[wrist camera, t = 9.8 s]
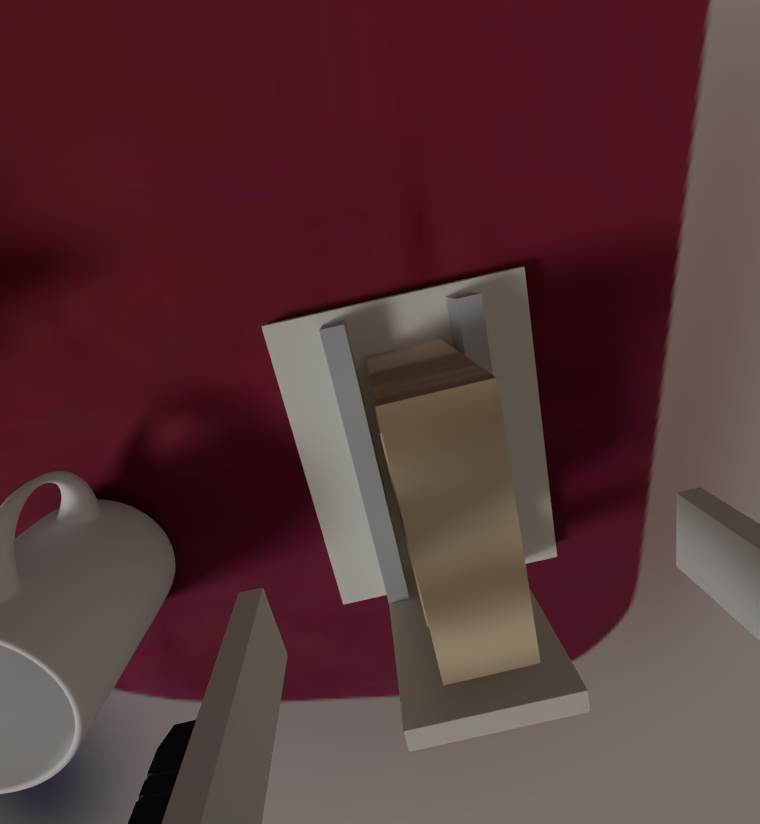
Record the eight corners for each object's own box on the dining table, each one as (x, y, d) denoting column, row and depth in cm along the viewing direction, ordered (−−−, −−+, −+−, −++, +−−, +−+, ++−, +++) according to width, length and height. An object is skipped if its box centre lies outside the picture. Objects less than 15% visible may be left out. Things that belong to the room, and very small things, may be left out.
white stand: (265, 324, 24) (196, 360, 13) (516, 267, 24) (647, 258, 13) (343, 591, 29) (338, 771, 19) (548, 545, 29) (662, 699, 19)
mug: (174, 444, 26) (58, 553, 16) (182, 614, 29) (92, 795, 19) (18, 436, 25) (-212, 544, 15) (45, 610, 28) (-127, 797, 18)
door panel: (363, 355, 24) (371, 407, 14) (440, 337, 24) (499, 376, 14) (409, 543, 27) (440, 686, 18) (475, 527, 27) (542, 662, 18)
